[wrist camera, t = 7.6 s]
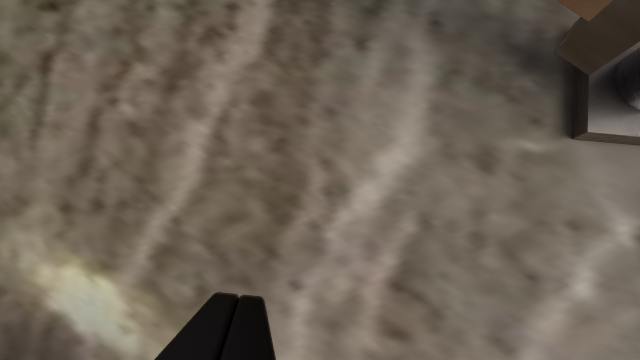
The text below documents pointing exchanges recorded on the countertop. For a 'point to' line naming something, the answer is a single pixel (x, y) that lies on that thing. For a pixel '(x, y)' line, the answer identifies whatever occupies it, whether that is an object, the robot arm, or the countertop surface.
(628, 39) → the gate
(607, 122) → the gate post
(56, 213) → the countertop surface
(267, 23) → the countertop surface
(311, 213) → the countertop surface
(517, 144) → the countertop surface
